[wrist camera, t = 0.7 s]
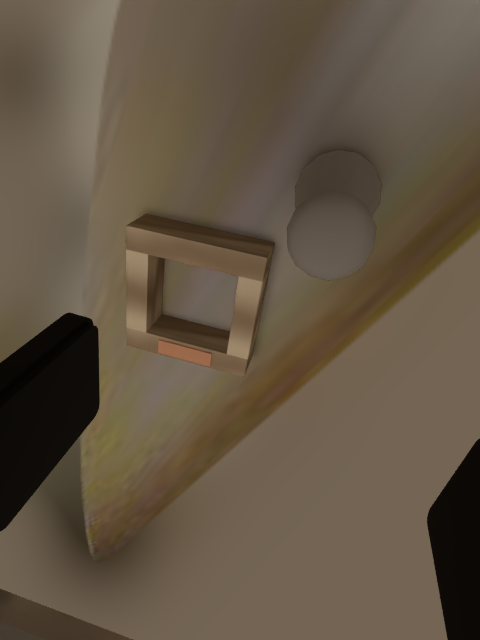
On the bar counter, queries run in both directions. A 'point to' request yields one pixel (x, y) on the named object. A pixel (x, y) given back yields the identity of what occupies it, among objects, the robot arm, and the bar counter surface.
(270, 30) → the bar counter surface
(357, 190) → the salt shaker
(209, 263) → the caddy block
